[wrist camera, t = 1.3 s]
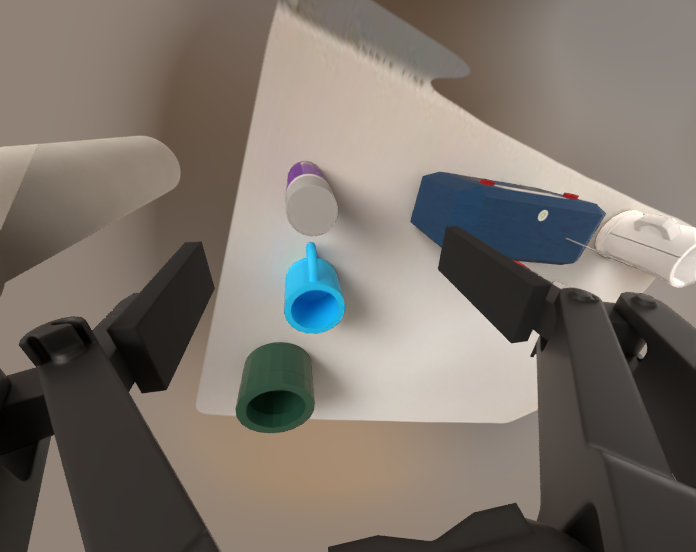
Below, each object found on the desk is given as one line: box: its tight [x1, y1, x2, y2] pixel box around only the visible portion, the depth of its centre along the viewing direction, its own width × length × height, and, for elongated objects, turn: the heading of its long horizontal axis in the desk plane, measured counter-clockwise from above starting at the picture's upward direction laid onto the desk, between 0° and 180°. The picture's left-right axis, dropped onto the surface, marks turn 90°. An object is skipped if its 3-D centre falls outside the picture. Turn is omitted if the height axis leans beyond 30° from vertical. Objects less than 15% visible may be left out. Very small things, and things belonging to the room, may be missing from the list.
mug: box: [284, 242, 345, 334], centre depth 39 cm, size 12×8×8 cm
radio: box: [410, 172, 638, 268], centre depth 34 cm, size 21×9×20 cm, turn 80°
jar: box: [236, 343, 315, 433], centre depth 48 cm, size 12×12×9 cm
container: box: [286, 161, 338, 236], centre depth 30 cm, size 5×5×15 cm
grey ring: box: [552, 281, 570, 289], centre depth 52 cm, size 4×2×4 cm, turn 61°
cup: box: [595, 211, 696, 287], centre depth 45 cm, size 10×9×12 cm
